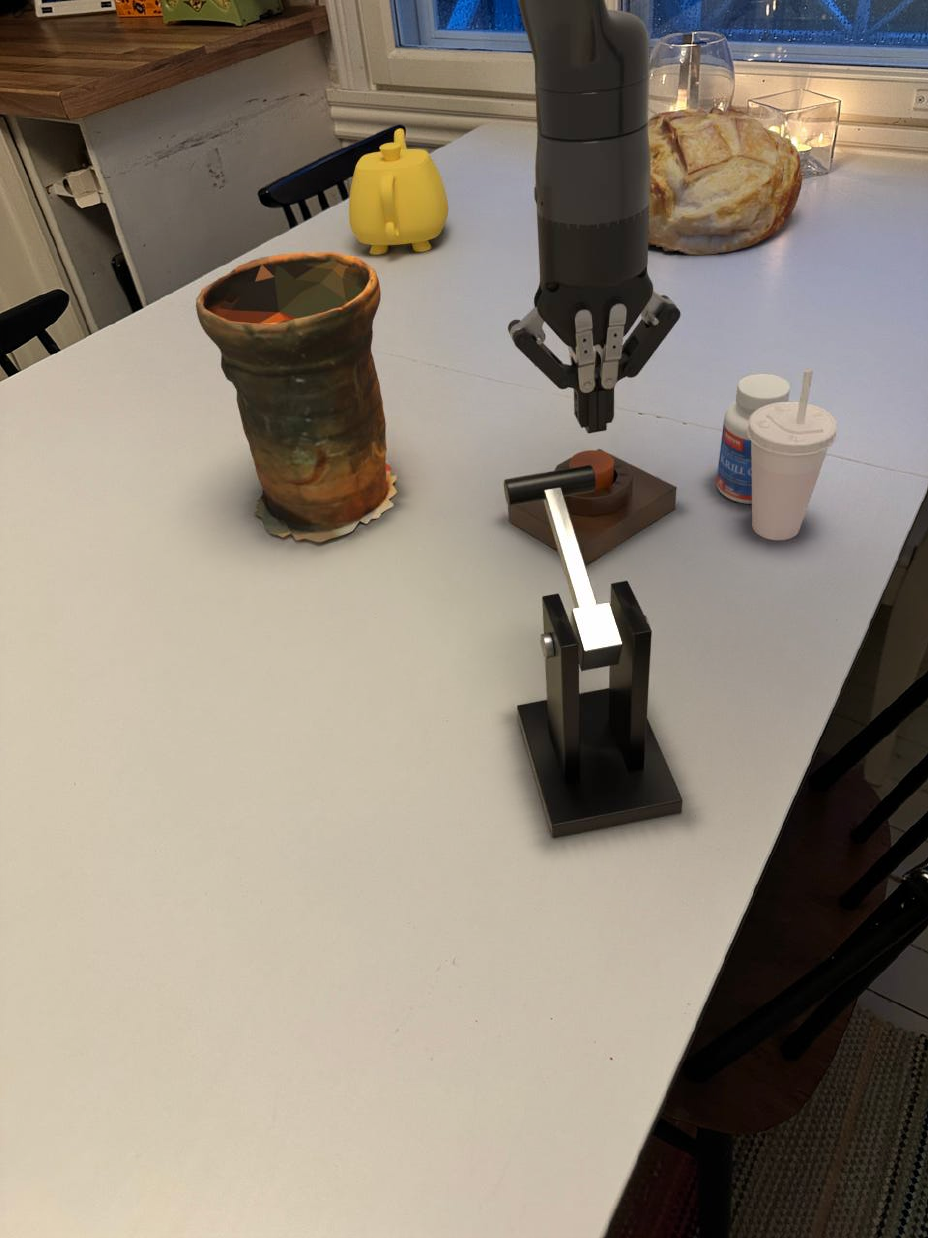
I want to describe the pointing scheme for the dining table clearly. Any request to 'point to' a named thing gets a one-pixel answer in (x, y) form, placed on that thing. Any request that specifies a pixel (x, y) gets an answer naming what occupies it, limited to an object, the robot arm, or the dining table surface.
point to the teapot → (397, 198)
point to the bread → (718, 180)
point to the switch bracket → (597, 729)
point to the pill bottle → (744, 433)
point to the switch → (572, 560)
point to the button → (596, 466)
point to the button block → (603, 510)
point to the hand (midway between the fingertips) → (594, 427)
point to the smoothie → (787, 461)
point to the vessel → (305, 387)
